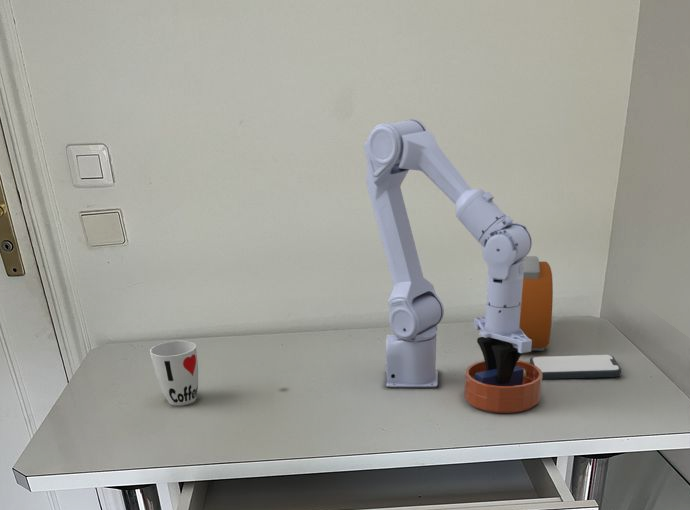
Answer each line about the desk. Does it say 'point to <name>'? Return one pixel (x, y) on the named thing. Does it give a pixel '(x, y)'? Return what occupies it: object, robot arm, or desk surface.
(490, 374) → the pencil
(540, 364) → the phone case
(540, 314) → the alarm clock
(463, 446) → the desk surface
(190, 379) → the cup
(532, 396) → the bowl
